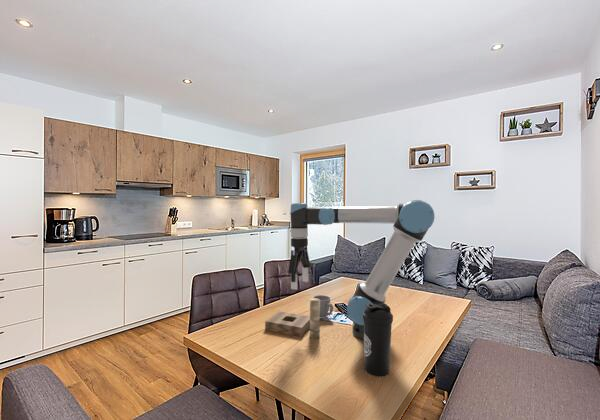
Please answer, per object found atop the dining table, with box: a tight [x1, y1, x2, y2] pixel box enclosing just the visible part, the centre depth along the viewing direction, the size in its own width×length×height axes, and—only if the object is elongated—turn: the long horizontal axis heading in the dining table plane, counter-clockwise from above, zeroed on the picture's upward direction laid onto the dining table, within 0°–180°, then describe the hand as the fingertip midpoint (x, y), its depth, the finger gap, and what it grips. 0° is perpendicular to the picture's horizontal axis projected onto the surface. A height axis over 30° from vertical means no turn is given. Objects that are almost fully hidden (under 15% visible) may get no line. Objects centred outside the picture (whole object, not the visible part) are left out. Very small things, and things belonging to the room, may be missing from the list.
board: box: [264, 310, 310, 337], centre depth 141 cm, size 18×14×4 cm
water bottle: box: [363, 302, 394, 377], centre depth 106 cm, size 10×10×23 cm
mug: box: [312, 294, 334, 319], centre depth 155 cm, size 12×9×10 cm
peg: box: [309, 298, 321, 339], centre depth 132 cm, size 4×4×16 cm
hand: (300, 285), depth 134 cm, fingers open, 13 cm apart
